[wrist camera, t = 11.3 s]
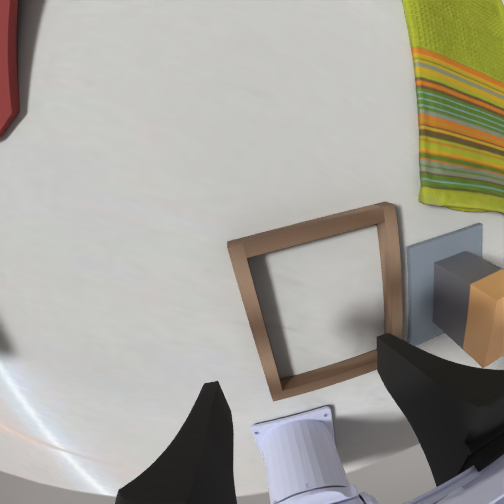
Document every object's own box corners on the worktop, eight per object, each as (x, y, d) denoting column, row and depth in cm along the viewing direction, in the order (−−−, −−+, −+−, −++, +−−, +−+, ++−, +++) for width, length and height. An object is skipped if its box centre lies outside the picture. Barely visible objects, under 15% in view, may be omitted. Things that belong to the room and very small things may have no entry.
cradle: (394, 350, 25) (401, 359, 24) (270, 390, 25) (273, 401, 24) (385, 201, 21) (394, 204, 20) (227, 241, 21) (227, 247, 20)
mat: (474, 313, 25) (476, 315, 25) (407, 345, 25) (410, 347, 25) (479, 222, 22) (482, 224, 22) (406, 246, 22) (409, 248, 22)
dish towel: (411, 207, 22) (434, 215, 19) (361, -101, 12) (371, -116, 9) (514, 211, 23) (535, 217, 20) (467, -56, 13) (480, -64, 10)
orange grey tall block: (462, 307, 24) (514, 347, 17) (432, 321, 24) (483, 368, 17) (465, 250, 22) (527, 282, 15) (433, 262, 22) (496, 300, 15)
